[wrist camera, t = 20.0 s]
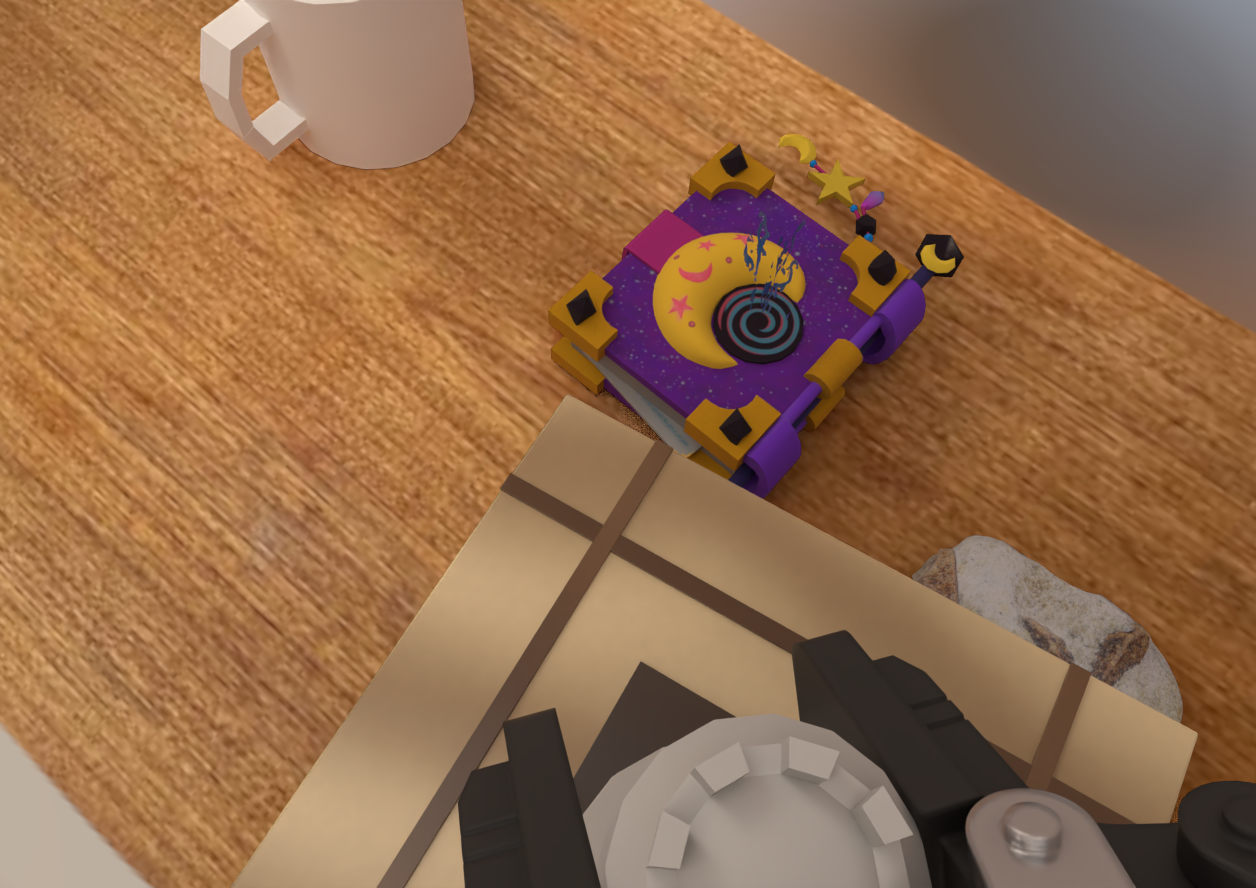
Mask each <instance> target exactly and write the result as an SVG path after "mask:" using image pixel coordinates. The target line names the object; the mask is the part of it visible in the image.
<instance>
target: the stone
mask: <svg viewBox="0 0 1256 888" xmlns="http://www.w3.org/2000/svg"><path fill="white" fill-rule="evenodd" d="M912 580H914V581H916V582H918V583H920V584H922V585H924V586H925V587H927V588H929V589H931V590H933V591H935V592H937V593H939V594H940V595H942V596H944V597H946V598H948V599H950V600H952V601H953V602H955V603H957V604H959V605H961V606H963V607H965V608H966V609H968V610H970V611H972V612H974V613H976V614H978V615H979V616H981V617H983V618H985V619H987V620H989V621H991V622H992V623H994V624H996V625H998V626H1000V627H1002V628H1004V629H1005V630H1007V631H1009V632H1011V633H1013V634H1015V635H1017V636H1018V637H1020V638H1022V639H1024V640H1026V641H1028V642H1030V643H1031V644H1033V645H1035V646H1037V647H1039V648H1041V649H1043V650H1044V651H1046V652H1048V653H1050V654H1052V655H1054V656H1056V657H1058V658H1059V659H1061V660H1063V661H1065V662H1067V663H1069V664H1071V663H1074V664H1076V665H1078V666H1080V667H1082V668H1084V669H1086V670H1087V671H1089V672H1091V673H1092V674H1091V676H1093V677H1095V678H1097V679H1098V680H1100V681H1102V682H1104V683H1106V684H1108V685H1110V686H1111V687H1113V688H1115V689H1117V690H1119V691H1121V692H1123V693H1124V694H1126V695H1128V696H1130V697H1132V698H1134V699H1136V700H1137V701H1139V702H1141V703H1143V704H1145V705H1147V706H1149V707H1150V708H1152V709H1154V710H1156V711H1158V712H1160V713H1162V714H1163V715H1165V716H1167V717H1169V718H1171V719H1173V720H1175V721H1177V722H1178V723H1180V721H1181V719H1182V714H1183V704H1182V699H1181V695H1180V692H1179V689H1178V684H1177V682H1176V680H1175V677H1174V675H1173V673H1172V671H1171V669H1170V667H1169V665H1168V663H1167V661H1166V660H1165V658H1164V657H1163V655H1162V654H1161V653H1160V651H1159V650H1158V649H1157V647H1156V646H1155V645H1154V643H1153V642H1152V640H1151V638H1150V635H1149V634H1148V633H1147V632H1146V631H1145V630H1144V629H1143V628H1142V627H1141V626H1140V625H1139V624H1138V623H1136V622H1135V621H1134V620H1132V618H1131V617H1130V616H1129V614H1127V613H1126V612H1124V611H1123V610H1121V609H1119V608H1118V607H1117V606H1116V605H1114V604H1113V603H1112V602H1111V601H1109V600H1107V599H1106V598H1105V597H1103V596H1102V595H1097V594H1092V593H1088V592H1085V591H1082V590H1080V589H1078V588H1076V587H1074V586H1071V585H1070V584H1068V583H1066V582H1065V581H1063V580H1061V579H1059V578H1058V577H1056V576H1055V575H1053V574H1052V573H1051V572H1050V571H1048V570H1047V569H1046V568H1044V567H1043V566H1042V565H1040V564H1039V563H1037V562H1035V561H1033V560H1031V559H1028V558H1027V557H1026V556H1024V555H1023V554H1021V553H1019V552H1018V551H1016V550H1015V549H1014V548H1013V547H1011V546H1010V545H1008V544H1007V543H1005V542H1003V541H1000V540H997V539H994V538H991V537H986V536H978V535H974V536H970V537H967V538H966V539H965V540H963V541H962V542H961V543H960V544H958V545H957V546H956V547H954V548H953V549H950V548H946V549H940V550H939V552H938V553H936V554H934V555H933V556H931V557H930V558H929V559H928V560H927V561H926V562H925V563H924V565H923V566H922V568H921V569H919V570H918V571H917V572H916V573H915V574H913V575H912Z"/></svg>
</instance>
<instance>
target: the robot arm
mask: <svg viewBox="0 0 1256 888" xmlns="http://www.w3.org/2000/svg"><path fill="white" fill-rule="evenodd" d="M792 661H793V669H794V677H795V686H796V694H797V702H798V710H799V718H800V721H801V722H804V723H808V724H811V725H814V726H818V727H821V728H824V729H828V730H831V731H833V732H835V733H836V734H837V735H838V736H840V737H841V738H842V739H844V740H845V741H846V742H847V743H849V744H850V745H851V746H853V747H854V748H855V749H856V750H858V751H859V752H860V753H861V754H863V755H864V756H865V757H867V758H868V759H869V760H870V761H872V762H873V763H874V764H876V765H877V766H878V767H879V768H881V769H882V770H883V771H884V772H885V774H886V775H887V777H888V779H889V780H890V782H891V783H892V785H893V787H894V788H895V790H896V792H897V793H898V795H899V796H900V798H901V800H902V801H903V803H904V804H905V806H906V808H907V809H908V811H909V812H910V814H911V816H912V817H913V819H914V821H915V823H916V825H917V827H918V829H919V833H920V836H921V839H922V843H923V847H924V852H925V856H926V861H927V866H928V870H929V875H930V880H931V884H932V888H1256V784H1255V783H1250V782H1241V781H1220V782H1212V783H1208V784H1204V785H1201V786H1199V787H1197V788H1195V789H1193V790H1192V791H1190V792H1189V793H1187V794H1186V796H1185V797H1184V798H1183V799H1182V801H1181V803H1180V805H1179V810H1178V823H1151V824H1105V823H1097V822H1095V821H1094V819H1093V818H1092V817H1091V816H1090V815H1089V814H1088V813H1087V812H1086V811H1085V810H1084V809H1083V808H1081V807H1080V806H1078V805H1077V804H1076V803H1074V802H1072V801H1070V800H1068V799H1066V798H1064V797H1062V796H1059V795H1057V794H1054V793H1051V792H1047V791H1043V790H1037V789H1030V788H1029V787H1028V786H1027V785H1026V784H1025V783H1024V781H1023V780H1022V779H1021V778H1020V777H1019V776H1018V775H1017V774H1016V773H1015V771H1014V770H1013V769H1012V768H1011V767H1010V766H1009V765H1008V764H1007V762H1006V761H1005V760H1004V759H1003V758H1002V757H1001V756H1000V755H999V753H998V752H997V751H996V750H995V749H994V748H993V747H992V746H991V745H990V743H989V742H988V741H987V740H986V739H985V738H984V737H983V736H982V734H981V733H980V732H979V731H978V730H977V729H976V728H975V727H974V726H973V724H972V723H971V722H970V721H969V720H968V719H967V720H965V718H964V714H963V713H962V712H961V711H960V710H959V709H958V708H957V707H956V705H955V704H954V703H953V702H952V701H951V700H948V699H947V696H946V694H945V693H944V692H943V691H942V690H941V689H940V688H939V686H938V685H937V684H936V683H935V682H934V681H933V680H932V679H931V677H930V676H929V675H928V674H927V673H926V672H925V671H923V670H921V669H919V668H917V667H915V666H913V665H911V664H909V663H907V662H906V661H904V660H902V659H900V658H898V657H896V656H894V655H891V656H887V657H884V658H880V659H877V660H872V659H871V658H870V657H869V656H868V654H867V653H866V652H865V651H864V650H863V648H862V647H861V646H860V645H859V643H858V642H857V641H856V640H855V639H854V637H853V636H852V635H851V634H850V633H849V632H848V631H847V630H841V631H838V632H834V633H830V634H827V635H823V636H819V637H815V638H812V639H808V640H804V641H801V642H797V643H794V644H793V647H792ZM503 729H504V735H505V741H506V747H507V753H508V759H509V761H505V762H502V763H498V764H495V765H491V766H487V767H484V768H480V769H477V770H473V771H471V773H470V775H469V777H468V780H467V782H466V784H465V786H464V789H463V791H462V793H461V796H460V798H459V800H458V813H459V824H460V834H461V848H462V859H463V863H464V865H463V871H464V883H465V888H601V885H600V881H599V877H598V873H597V870H596V866H595V862H594V858H593V854H592V850H591V846H590V842H589V838H588V834H587V830H586V826H585V822H584V818H583V815H582V811H581V807H580V803H579V799H578V795H577V791H576V787H575V783H574V779H573V775H572V771H571V767H570V763H569V760H568V756H567V752H566V748H565V744H564V740H563V736H562V732H561V728H560V724H559V720H558V716H557V712H556V709H555V708H551V709H547V710H544V711H540V712H536V713H533V714H529V715H525V716H522V717H518V718H514V719H511V720H507V721H503Z"/></svg>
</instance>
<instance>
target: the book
mask: <svg viewBox="0 0 1256 888" xmlns="http://www.w3.org/2000/svg"><path fill="white" fill-rule="evenodd" d="M783 146H793V147H795V148H796V149H798V150H799V151H800V153H801V157H800V161H799V164H806V163H809V164H810V167H812V168H815V169H817V170H818V171H819V172H820V173H818V172H810V171H809V172H808V175H807V177H808V178H809V179H810V180H812V181H813V182H814V183H816V184H817V185H818V186H820V187H821V188H823V190H822V192H821V194H820V196H819V198H818V201H817V204H816V205H818V204H820V203H822V202H824V201H826V200H829V199H831V198H833V197H835V198H836V199H838V200H839V201H840V202H842V203H843V204H844V205H846V206H847V207H849V208H850V210H851V212H854V213H855V215H856V218H857V220H856V234H858V237H857V238H856V239H855V240H854V241H853V242H852V243H851V244H850V245H848V244H846V243H845V242H844V241H842V240H841V239H839V238H838V237H836V236H835V235H834V234H832V233H831V232H829V231H828V230H826V229H825V228H824V227H822V226H821V225H819V224H818V223H816V222H815V221H814V220H812V219H811V218H809V217H808V216H807V215H805V214H804V213H802V212H801V211H799V210H798V209H797V208H795V207H794V206H792V205H791V204H789V203H788V202H787V201H785V200H784V199H782V198H781V197H779V196H778V195H777V194H775V193H774V192H772V191H771V188H772V185H773V181H774V177H775V173H773V172H772V171H770V170H769V169H768V168H766V167H765V166H763V165H762V164H760V163H759V162H758V161H756V160H755V159H753V158H752V157H750V156H749V155H747V154H746V153H745V152H743V151H742V150H741V147H740V145H738V146H737V147H736V146H734V145H733V144H732V143H730V142H729V143H727V144H726V145H725V146H724V147H723V148H722V149H721V150H720V151H719V152H718V153H717V154H716V155H714V156H713V157H712V158H711V159H710V160H709V161H708V162H707V163H706V164H705V165H704V166H703V167H702V168H700V169H699V170H698V171H697V172H696V173H695V174H694V175H693V176H692V177H691V178H690V185H689V192H688V194H690V195H691V196H690V197H689V198H688V199H687V200H686V201H685V202H684V203H683V204H682V205H681V206H679V207H678V208H677V209H676V210H675V211H674V212H673V213H672V212H670V211H669V210H667V209H666V210H664V211H663V212H662V213H661V214H660V215H659V216H658V217H657V218H656V219H655V220H654V221H652V222H651V223H650V224H649V225H648V226H647V227H646V228H645V229H644V230H643V231H642V232H641V233H640V234H639V235H637V236H636V237H635V238H634V239H633V240H632V241H631V242H630V243H629V244H628V245H627V246H626V247H625V248H624V249H623V254H622V261H621V262H620V263H618V264H617V265H616V266H615V267H614V268H613V269H612V270H611V271H610V272H609V273H608V274H607V275H606V276H605V277H604V278H600V277H599V276H598V275H597V274H595V273H594V272H593V271H590V272H589V273H588V274H587V275H586V276H585V277H584V278H583V279H582V280H580V281H579V282H578V283H577V284H576V285H575V286H574V287H573V288H572V289H571V290H570V291H569V292H567V293H566V294H565V295H564V296H563V297H562V298H561V299H560V300H559V301H558V302H557V303H556V304H555V305H553V306H552V307H551V308H550V309H549V310H548V315H549V324H550V325H551V326H553V327H554V328H555V329H556V330H558V331H559V332H560V333H561V334H563V335H564V337H563V338H562V339H561V340H560V341H558V342H557V343H556V344H555V345H554V346H553V347H552V348H551V358H552V360H554V361H555V362H556V363H557V364H559V365H560V366H561V367H562V368H564V369H565V370H566V371H567V372H569V373H570V374H571V375H572V376H574V377H575V378H576V379H577V380H579V381H580V382H581V383H582V384H583V385H585V386H586V387H587V388H588V389H590V390H591V391H592V392H593V393H595V394H596V395H598V394H599V393H600V392H601V391H602V390H603V389H604V388H605V389H606V390H607V391H609V392H610V393H611V394H612V395H614V396H615V397H616V398H617V399H619V400H620V401H621V402H622V403H624V404H625V405H626V406H627V407H628V408H630V409H631V410H632V411H633V412H635V413H636V414H637V415H638V416H640V417H641V418H642V419H643V420H644V421H645V422H646V423H647V424H648V425H649V426H650V427H651V428H652V429H653V431H654V432H655V433H656V434H657V435H658V436H659V437H660V438H661V439H662V440H663V442H664V443H665V444H667V445H669V446H670V447H672V448H673V451H674V452H676V453H678V454H680V455H682V456H684V457H686V458H688V459H689V460H691V461H693V462H695V463H697V464H699V465H701V466H702V467H704V468H706V469H708V470H710V471H712V472H714V473H715V474H717V475H719V476H721V477H723V478H725V479H727V480H728V481H730V482H732V483H734V484H736V485H738V486H740V487H741V488H743V489H745V490H747V491H749V492H751V493H753V494H754V495H756V496H758V497H760V498H762V499H763V498H764V497H765V496H766V495H767V494H768V493H769V492H770V491H771V490H772V489H773V487H774V486H775V485H776V484H777V483H778V482H779V481H780V480H781V478H782V477H783V476H784V475H785V474H786V473H787V472H788V470H789V469H790V468H791V467H792V466H793V465H794V464H795V463H796V461H797V460H798V459H799V458H800V455H801V443H800V440H799V437H798V435H797V434H798V433H799V432H800V431H801V430H802V429H804V430H806V431H811V432H812V431H813V430H815V429H816V428H817V427H818V426H819V424H820V423H821V422H822V421H823V420H824V419H825V418H826V417H827V415H828V414H829V413H830V412H831V411H832V410H833V409H834V408H835V406H836V405H837V404H838V403H839V402H840V401H841V400H842V399H843V397H844V396H845V390H844V388H843V386H842V384H843V383H844V382H845V381H846V380H847V379H848V377H849V376H850V375H851V374H852V373H853V372H854V371H855V370H856V368H857V367H858V366H859V365H860V364H861V363H862V362H865V363H868V364H877V363H880V362H882V361H884V360H886V359H887V358H889V357H890V356H891V355H892V354H893V353H894V351H895V350H896V349H897V348H898V347H899V346H900V345H901V343H902V342H903V341H904V340H905V339H906V338H907V337H908V336H909V334H910V333H911V332H912V331H913V330H914V329H915V328H916V326H917V325H918V324H919V323H920V322H921V321H922V319H923V317H924V313H925V307H926V304H925V298H924V294H923V291H922V288H923V287H924V285H925V284H926V283H927V282H928V281H929V280H930V279H931V278H932V276H940V277H952V276H953V274H954V273H955V271H956V269H957V268H958V266H959V264H960V263H961V261H962V259H963V258H964V256H963V255H962V253H961V251H960V250H959V248H958V246H957V245H956V243H955V241H954V239H953V238H952V236H951V235H933V234H926V236H925V238H924V240H923V241H922V243H921V245H920V247H919V249H918V250H917V252H916V254H915V255H916V257H917V258H918V260H919V262H920V264H921V265H922V267H921V268H920V269H919V270H918V271H917V272H916V273H915V274H914V275H913V277H912V278H911V279H910V280H909V279H907V278H908V276H909V274H910V272H911V271H910V270H909V269H907V268H906V267H905V266H903V265H902V264H900V263H899V262H897V261H896V260H895V259H894V258H893V257H892V256H891V255H890V254H889V253H888V252H887V251H886V250H884V251H882V250H880V249H879V248H877V247H876V246H874V245H873V244H872V243H870V242H871V241H872V240H873V236H872V235H874V234H875V233H876V220H875V219H873V218H872V217H870V216H869V215H867V214H866V210H869V209H872V208H874V207H876V206H878V205H880V204H882V202H883V200H884V192H879V191H873V192H870V194H869V195H868V196H867V198H866V199H865V201H864V202H863V203H862V205H861V209H862V214H863V216H862V217H860V214H859V213H858V211H857V210H858V209H857V206H856V205H853V201H852V198H851V195H850V192H849V190H851V189H853V188H856V187H858V186H860V185H862V184H864V181H865V178H858V177H850V176H844V175H843V172H842V169H841V166H840V163H839V160H837V162H836V164H835V166H834V168H833V170H832V172H831V174H827V173H826V172H825V171H823V170H822V169H821V168H820V167H819V166H818V165H817V162H816V161H815V160H814V159H815V157H816V147H815V146H814V144H813V143H812V142H811V140H810V139H808V138H806V137H804V136H802V135H798V134H787V135H785V136H783V137H781V138H780V141H779V147H783Z"/></svg>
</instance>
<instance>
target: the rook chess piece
mask: <svg viewBox="0 0 1256 888" xmlns="http://www.w3.org/2000/svg"><path fill="white" fill-rule="evenodd" d="M583 818H584V822H585V826H586V830H587V834H588V838H589V842H590V846H591V850H592V854H593V858H594V862H595V866H596V870H597V873H598V877H599V881H600V885H601V888H932V884H931V880H930V875H929V870H928V866H927V861H926V856H925V852H924V847H923V843H922V839H921V836H920V833H919V829H918V827H917V825H916V823H915V821H914V819H913V817H912V816H911V814H910V812H909V811H908V809H907V808H906V806H905V804H904V803H903V801H902V800H901V798H900V796H899V795H898V793H897V792H896V790H895V788H894V787H893V785H892V783H891V782H890V780H889V779H888V777H887V775H886V774H885V772H884V771H883V770H882V769H881V768H879V767H878V766H877V765H876V764H874V763H873V762H872V761H870V760H869V759H868V758H867V757H865V756H864V755H863V754H861V753H860V752H859V751H858V750H856V749H855V748H854V747H853V746H851V745H850V744H849V743H847V742H846V741H845V740H844V739H842V738H841V737H840V736H838V735H837V734H836V733H835V732H833V731H831V730H828V729H824V728H821V727H818V726H814V725H811V724H808V723H804V722H801V721H798V720H794V719H791V718H788V717H784V716H781V715H778V714H774V713H773V714H763V715H754V716H744V717H735V718H726V719H716V720H713V721H711V722H709V723H708V724H706V725H704V726H702V727H701V728H699V729H697V730H695V731H694V732H692V733H690V734H688V735H686V736H685V737H683V738H681V739H679V740H678V741H676V742H674V743H672V744H671V745H669V746H667V747H662V748H661V749H659V750H657V751H655V752H654V753H652V754H650V755H648V756H647V757H645V758H643V759H641V760H639V761H638V762H636V763H634V764H632V765H631V766H629V767H627V768H625V769H624V770H622V771H620V772H618V773H617V774H616V775H614V776H612V777H611V779H610V780H609V781H608V783H607V784H606V785H605V786H604V788H603V789H602V790H601V792H600V793H599V794H598V796H597V797H596V798H595V799H594V801H593V802H592V803H591V805H590V806H589V807H588V808H587V810H586V811H585V812H584V814H583Z"/></svg>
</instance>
